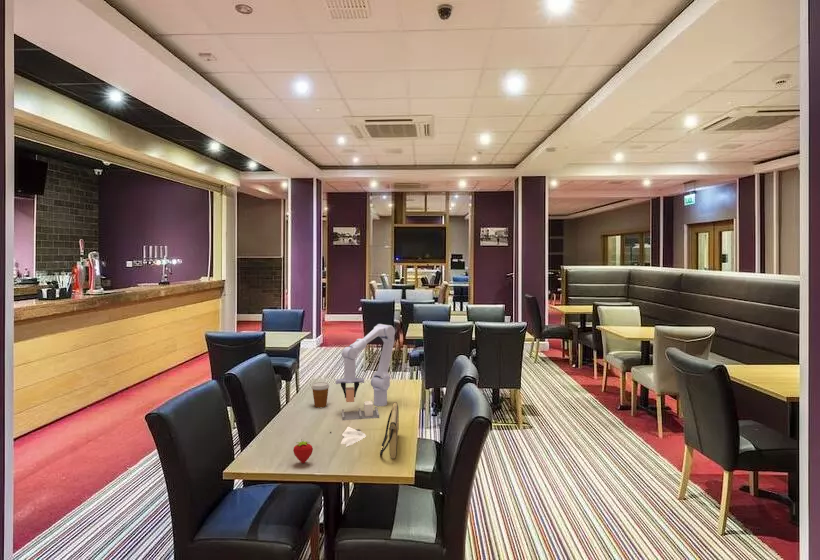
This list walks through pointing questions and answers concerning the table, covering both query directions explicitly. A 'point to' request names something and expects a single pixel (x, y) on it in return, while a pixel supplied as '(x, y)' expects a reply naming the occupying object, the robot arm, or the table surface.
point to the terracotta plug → (349, 394)
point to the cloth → (352, 436)
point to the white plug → (368, 408)
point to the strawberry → (302, 451)
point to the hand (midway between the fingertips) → (350, 397)
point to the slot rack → (358, 415)
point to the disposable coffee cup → (320, 393)
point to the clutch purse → (392, 431)
